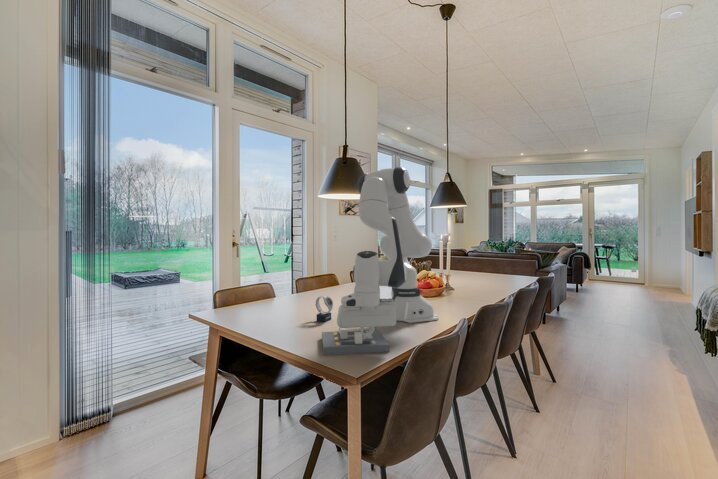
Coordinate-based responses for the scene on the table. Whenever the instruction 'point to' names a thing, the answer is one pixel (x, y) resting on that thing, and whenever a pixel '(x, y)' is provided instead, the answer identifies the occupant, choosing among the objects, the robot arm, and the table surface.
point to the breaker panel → (353, 343)
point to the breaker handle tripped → (358, 337)
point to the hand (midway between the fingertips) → (366, 339)
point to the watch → (322, 315)
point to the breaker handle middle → (343, 333)
